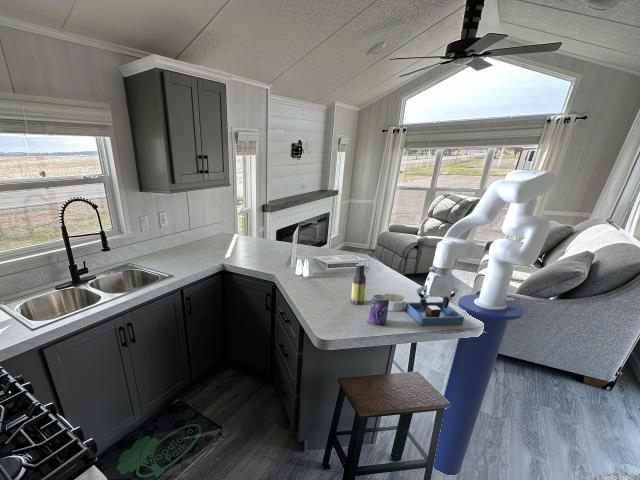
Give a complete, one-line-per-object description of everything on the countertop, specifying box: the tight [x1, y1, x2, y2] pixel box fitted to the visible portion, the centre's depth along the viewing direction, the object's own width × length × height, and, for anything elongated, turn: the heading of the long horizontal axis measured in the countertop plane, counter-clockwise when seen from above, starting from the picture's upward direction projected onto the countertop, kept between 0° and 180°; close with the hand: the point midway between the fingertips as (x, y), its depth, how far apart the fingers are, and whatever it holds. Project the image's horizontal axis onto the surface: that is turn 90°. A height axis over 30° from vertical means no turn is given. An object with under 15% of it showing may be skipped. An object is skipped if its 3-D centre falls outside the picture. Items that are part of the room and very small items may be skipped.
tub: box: [404, 301, 465, 326], centre depth 147 cm, size 17×16×4 cm
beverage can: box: [368, 294, 389, 326], centre depth 142 cm, size 7×7×12 cm
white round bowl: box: [382, 293, 407, 312], centre depth 158 cm, size 11×11×4 cm
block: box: [426, 306, 441, 317], centre depth 146 cm, size 4×4×4 cm
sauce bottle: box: [350, 262, 367, 305], centre depth 161 cm, size 6×6×20 cm
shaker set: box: [295, 258, 314, 279], centre depth 202 cm, size 12×4×11 cm, turn 32°
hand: (433, 306), depth 145 cm, fingers open, 9 cm apart
